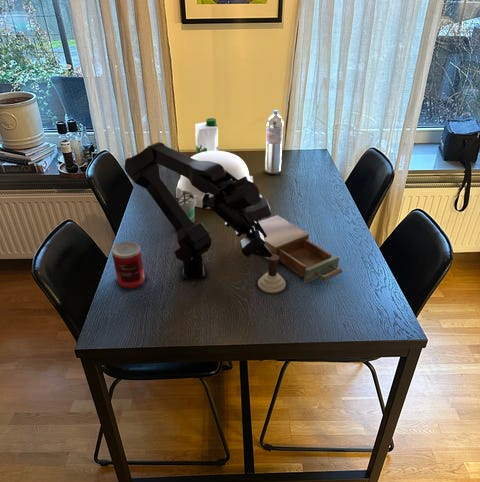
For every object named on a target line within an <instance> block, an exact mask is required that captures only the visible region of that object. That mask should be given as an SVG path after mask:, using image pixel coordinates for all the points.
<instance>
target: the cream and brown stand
mask: <svg viewBox="0 0 480 482" xmlns="http://www.w3.org/2000/svg"><path fill="white" fill-rule="evenodd" d="M272 255H273V256H271V257H270V258H269V257H268V260H269V261H268V260H267V261H268V271H267V272H266V273H264V274H263V275H262V276H261V277H260V278H258V280H257V287H258V288H259V290H261V291H263V292H265V293H268V294H269V293H270V294H276V293H280V292H283V291H284V289H286V286H287V282H286V280H285V279H284V278H283V276H281V274H279V273H278V263H277V262H278V260H279V256H278V255H276V254H272Z"/></svg>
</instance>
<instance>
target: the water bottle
mask: <svg viewBox="0 0 480 482" xmlns="http://www.w3.org/2000/svg"><path fill="white" fill-rule="evenodd" d="M272 113H273V114H272V115H270V116H269V117H268V119H267V120H266V133H265V134H266V135H265V152H264V153H265V154H264V172H265V173H266V174H267V175H271V176H272V175H273V176H274V175H278V174H280V173H281V169H282V155H283V151H282V150H283V135H284V126H285V122H284V119H283V118H282V116H281V115H280V114H279V110H278V109H274V110H273V112H272Z"/></svg>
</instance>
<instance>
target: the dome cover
mask: <svg viewBox="0 0 480 482" xmlns="http://www.w3.org/2000/svg"><path fill="white" fill-rule="evenodd" d="M190 158H192V159H195V160H198V161H210V162H215V163H218V164H220V165H222V166H223V168H224V169H225V170H226V171H227V172H228V173H230V174H231V175H232V176H234V177H235V178H236V179H238V180H239V179H241V178H243V177H245V176H246V177H247V179H248V181H251V182H253V183H254V176H253V175H250V172H249V168H248V166H247V164H246V162H245V161H244V160H243V158H241V157H240V156H238V155H236V154H235V153H232V152H228V151H224V150H218V151H206V152H202V153H198V154H197V153H196V154H193V155H192V156H190ZM183 191H188V192H191V193H192V194H193V195H194V196H195V199H196V205H195V207H196V208H201V209H203V208H202V205H203V202H202V199H203V196H204V194H210V193H202V192H201V191H199V190H198V189H197V188H195V187H194V186H192V184H191V182H190V180H189V179H188V178H186V177H184V176H182V175H180V178H179V180H178V182H177V186H176V187H175V195H176V196H175V199H179V198H180V197H181V195H182V194H183ZM207 209H211V208H210V207H208V208H207ZM211 210H212V209H211Z"/></svg>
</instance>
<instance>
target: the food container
mask: <svg viewBox="0 0 480 482" xmlns="http://www.w3.org/2000/svg"><path fill="white" fill-rule="evenodd" d="M176 201H177V202H178V203H179V205H180V206H181V208H182V209H183V210H184V212H185V213H186V215H187V216H188V217H189V219H190V220H191V221H192V222H194V223H195V207H196V206H195V205H196V199H195V196H194V195H193V194H192V193H191V192H188V191H183V194H182V195H181V197H180V198H177V199H176Z"/></svg>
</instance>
